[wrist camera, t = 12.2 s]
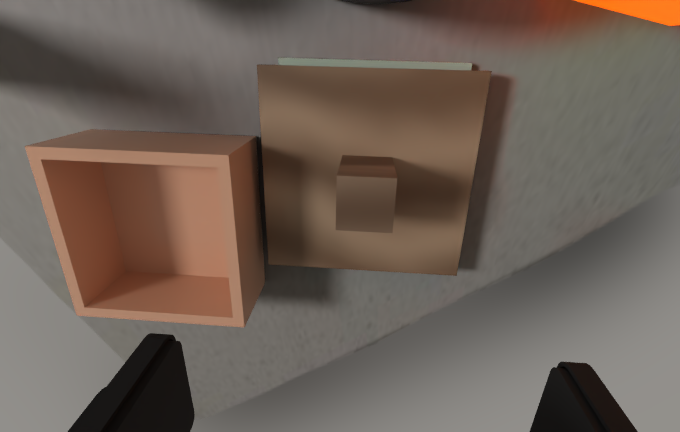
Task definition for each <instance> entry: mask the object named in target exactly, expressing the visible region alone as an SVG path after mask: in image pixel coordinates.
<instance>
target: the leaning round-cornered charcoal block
mask: <svg viewBox="0 0 680 432" xmlns="http://www.w3.org/2000/svg"><path fill="white" fill-rule="evenodd" d="M343 1H348V2H356V3H368V4H384V3H396V2H404V1H410V0H343Z"/></svg>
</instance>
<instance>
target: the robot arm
mask: <svg viewBox="0 0 680 432" xmlns="http://www.w3.org/2000/svg"><path fill="white" fill-rule="evenodd" d="M193 421H194V408H193V403H192V398H191V392H190V387H189V382H188V377H187V371H186V366H185V361H184V356H183V351H182V345H181V343H180V341H176V339H175V337H174V336H173V335H167V334H153V333H150V334H148V335H147V336H146V337H145V338H144V339H143V341H142V342H141V343H140V344H139V346H138V347H137V348H136V350H135V351H134V352H133V353H132V355H131V356H130V357H129V359H128V360H127V361H126V362H125V364H124V365H123V366H122V368H121V369H120V370H119V371H118V373H117V374H116V375H115V377H114V378H113V379H112V380H111V382H110V383H109V384H108V386H107V387H105V388H104V389H102V390H101V391H100V392H99V393H98V394H97V395H96V396H95V398H94V399H93V400H92V401H91V403H90V404H89V405H88V406H87V408H86V409H85V410H84V412H83V413H82V414H81V415H80V417H79V418H78V419H77V420H76V422H75V423H74V424H73V426H72V427H71V428H70V429H69V431H68V432H190V430H191V428H192V425H193ZM530 432H637V430H636V429H635V427H634V426H633V425H632V423H631V422H630V420H629V419H628V417H627V416H626V415H625V413H624V412H623V410H622V409H621V408H620V406H619V405H618V403H617V402H616V401H615V399H614V398H613V396H612V395H611V394H610V392H609V391H608V389H607V388H606V386H605V385H604V384H603V382H602V381H601V380H600V378H599V377H598V375H597V374H596V372H595V371H594V370H593V369H592V367H591V366H590V365H588V364H587V363H573V362H560V363H559V364H558V366H557V368H555V367H554V368H552V369H551V371H550V374H549V377H548V380H547V383H546V386H545V388H544V391H543V394H542V397H541V400H540V403H539V406H538V409H537V412H536V415H535V418H534V421H533V424H532V427H531V430H530Z"/></svg>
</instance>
